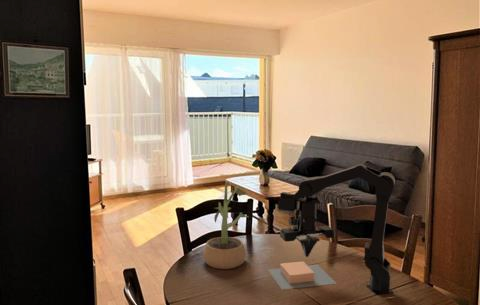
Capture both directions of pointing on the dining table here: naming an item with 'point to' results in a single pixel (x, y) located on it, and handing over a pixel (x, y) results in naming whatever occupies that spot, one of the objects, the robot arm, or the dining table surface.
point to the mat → (319, 279)
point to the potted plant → (225, 240)
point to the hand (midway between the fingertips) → (306, 256)
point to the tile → (296, 272)
